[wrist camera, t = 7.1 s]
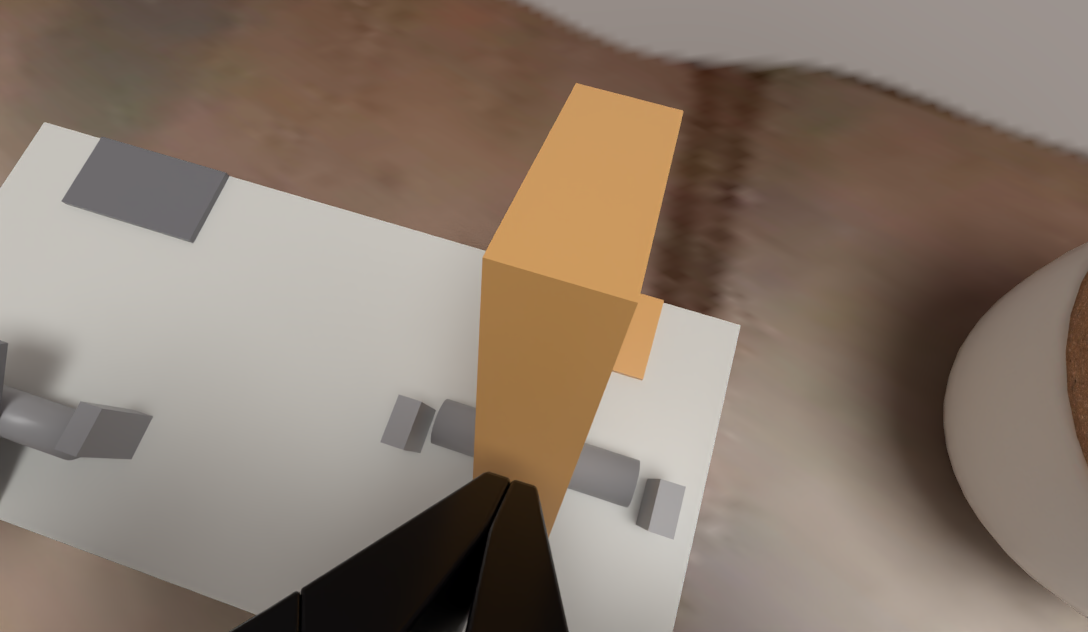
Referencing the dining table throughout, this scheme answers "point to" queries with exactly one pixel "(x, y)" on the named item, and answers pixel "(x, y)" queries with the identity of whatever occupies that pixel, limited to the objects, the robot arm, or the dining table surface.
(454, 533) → the robot arm
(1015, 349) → the lidded jar
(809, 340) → the dining table surface
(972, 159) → the dining table surface
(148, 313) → the switch console
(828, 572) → the dining table surface
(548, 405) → the orange rocker
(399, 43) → the dining table surface
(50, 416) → the charcoal rocker
